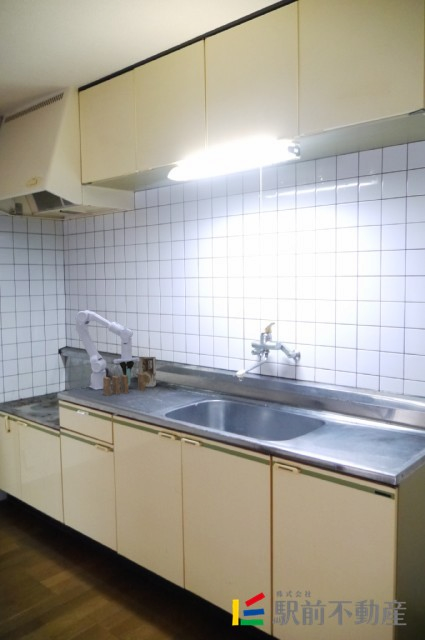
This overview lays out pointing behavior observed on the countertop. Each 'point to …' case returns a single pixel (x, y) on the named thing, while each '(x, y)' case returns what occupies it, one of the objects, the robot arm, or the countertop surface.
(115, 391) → the domino
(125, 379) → the domino
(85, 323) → the robot arm
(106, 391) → the domino
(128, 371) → the domino
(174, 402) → the countertop surface
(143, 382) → the domino
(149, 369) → the coffee box
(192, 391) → the countertop surface
